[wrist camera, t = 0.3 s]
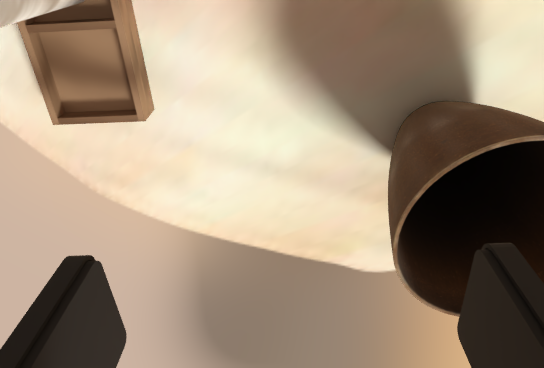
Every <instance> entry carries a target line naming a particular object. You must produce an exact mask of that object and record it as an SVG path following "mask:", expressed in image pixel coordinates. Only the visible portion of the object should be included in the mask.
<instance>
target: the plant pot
mask: <svg viewBox="0 0 544 368" xmlns="http://www.w3.org/2000/svg"><path fill="white" fill-rule="evenodd" d="M388 213H389V225H390V235H391V244H392V253H393V260H394V265H395V269H396V272H397V274H398V276H399V278H400V280H401V282H402V283H403V285H404V286H405V288H406V289H407V290H408V291H409V292H410V293H411V294H412V295H413V296H414V297H415V298H417V299H418V300H419V301H421V302H422V303H424V304H425V305H427V306H429V307H431V308H433V309H435V310H438V311H440V312H443V313H446V314H450V315H454V316H459V317H460V313H461V309H462V305H463V301H464V296H465V292H466V288H467V284H468V280H469V276H470V271H471V267H472V263H473V259H474V255H475V252H476V251H477V250H482V247H483V245H484V244H487V243H512V244H514V245H515V246H516V248H517V249H518V250H519V252H520V253H521V254H522V256H523V257H524V258H525V260H526V261H527V262H528V264H529V265H530V266H531V268H532V269H533V270H534V272H535V273H536V274H537V276H538V277H539V278H540V279H541V281H542V282H543V283H544V122H542V121H539V120H536V119H534V118H531V117H528V116H525V115H521V114H518V113H515V112H511V111H508V110H504V109H500V108H496V107H491V106H486V105H481V104H475V103H466V102H450V101H444V102H434V103H430V104H427V105H424V106H422V107H420V108H418V109H417V110H415V111H414V112H413V113H412V114H410V115H409V116H408V117H407V118H406V120H405V121H404V122H403V124H402V125H401V127H400V129H399V132H398V134H397V137H396V140H395V144H394V148H393V152H392V156H391V162H390V170H389V181H388Z"/></svg>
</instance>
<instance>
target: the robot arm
mask: <svg viewBox="0 0 544 368" xmlns="http://www.w3.org/2000/svg"><path fill="white" fill-rule="evenodd" d="M457 328H458V336H459V340H460V342H461V344H462V347H463V349H464V351H465V354H466V356H467V358H468V361H469V363H470V365H471V368H544V283H543V282H542V281H541V279H540V278H539V277H538V276H537V274H536V273H535V272H534V270H533V269H532V268H531V266H530V265H529V264H528V262H527V261H526V260H525V258H524V257H523V256H522V254H521V253H520V252H519V250H518V249H517V248H516V246H515V245H514V244H512V243H487V244H484V245H483V247H482V250H477V251H476V252H475V255H474V259H473V263H472V267H471V271H470V276H469V280H468V284H467V288H466V292H465V296H464V301H463V305H462V309H461V313H460V317H459V322H458V327H457ZM125 343H126V330H125V328H124V325H123V322H122V319H121V317H120V314H119V311H118V308H117V305H116V303H115V300H114V297H113V295H112V292H111V289H110V286H109V283H108V281H107V278H106V275H105V272H104V269H103V267H102V264H101V263H100V262H99V261H95V259H94V257H93V256H90V255H86V256H68V257H66V258H65V259H64V260H63V261H62V263H61V264H60V266H59V267H58V268H57V270H56V271H55V273H54V274H53V276H52V277H51V279H50V280H49V281H48V283H47V284H46V286H45V287H44V288H43V290H42V291H41V293H40V294H39V296H38V297H37V298H36V300H35V301H34V302H33V304H32V305H31V307H30V308H29V310H28V311H27V312H26V314H25V315H24V317H23V318H22V320H21V321H20V322H19V324H18V325H17V327H16V328H15V329H14V331H13V332H12V334H11V335H10V337H9V338H8V340H7V341H6V342H5V344H4V345H3V346H2V348H1V349H0V368H116V366H117V364H118V362H119V359H120V356H121V354H122V351H123V349H124V346H125Z"/></svg>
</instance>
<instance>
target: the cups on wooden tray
mask: <svg viewBox="0 0 544 368" xmlns="http://www.w3.org/2000/svg"><path fill="white" fill-rule="evenodd" d="M16 22H17V24H18V27H19V29H20V32H21V35H22V38H23V41H24V44H25V46H26V49H27V52H28V55H29V58H30V61H31V63H32V66H33V69H34V72H35V75H36V78H37V81H38V83H39V86H40V89H41V92H42V95H43V98H44V100H45V103H46V106H47V109H48V112H49V115H50V117H51V120H52V123H53V125H60V124H86V123H111V122H136V121H146V119H147V118H148V117H149V116H150V114H151V113H152V112H153V110H154V105H153V101H152V96H151V91H150V87H149V82H148V77H147V72H146V68H145V63H144V58H143V53H142V49H141V44H140V39H139V35H138V30H137V25H136V20H135V16H134V11H133V6H132V1H131V0H0V27H3V26H7V25H10V24H13V23H16Z"/></svg>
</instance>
